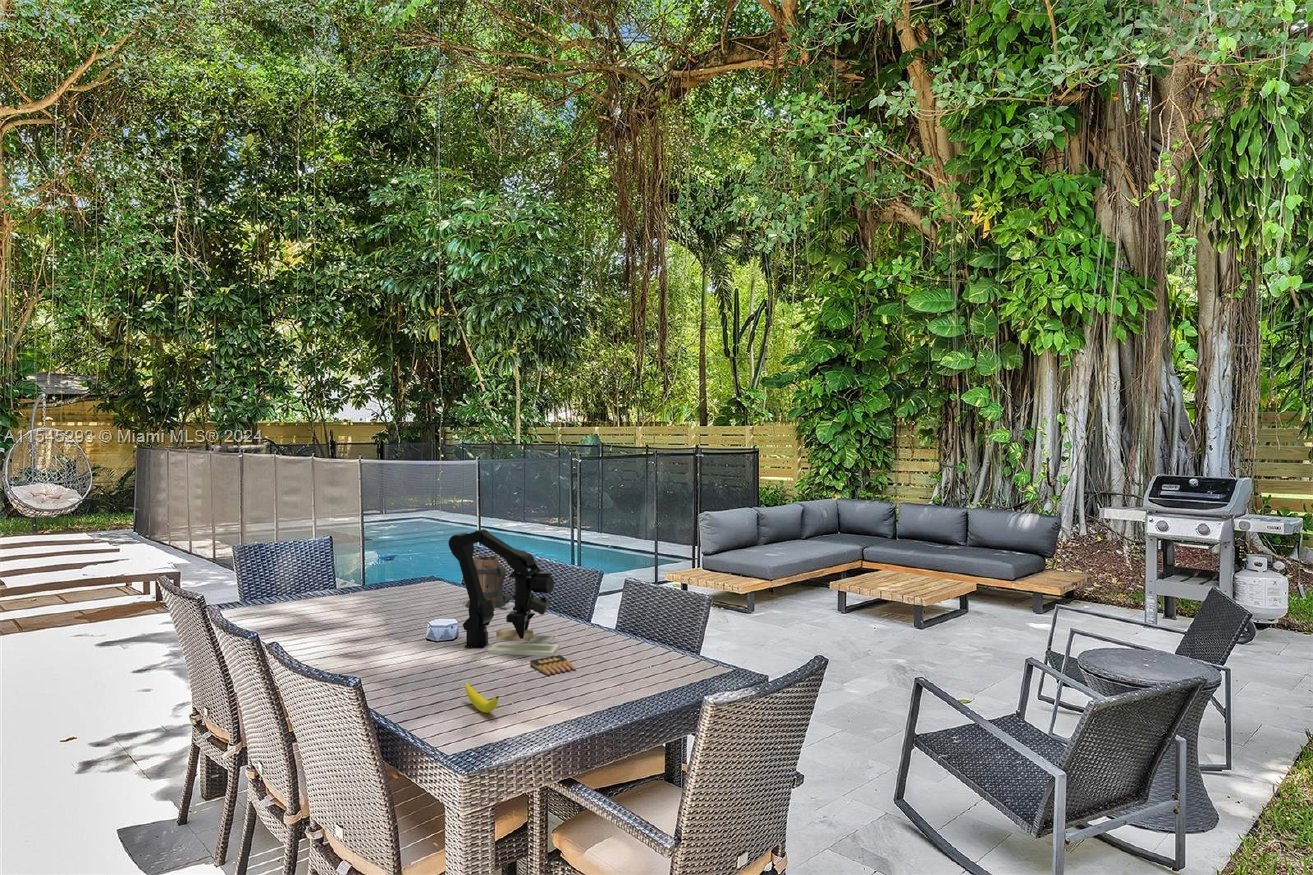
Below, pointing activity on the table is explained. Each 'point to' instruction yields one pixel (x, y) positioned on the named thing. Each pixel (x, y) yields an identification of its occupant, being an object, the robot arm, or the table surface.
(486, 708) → the banana
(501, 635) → the turner
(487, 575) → the tankard
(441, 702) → the table surface
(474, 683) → the table surface
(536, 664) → the ammunition clip
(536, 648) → the board
